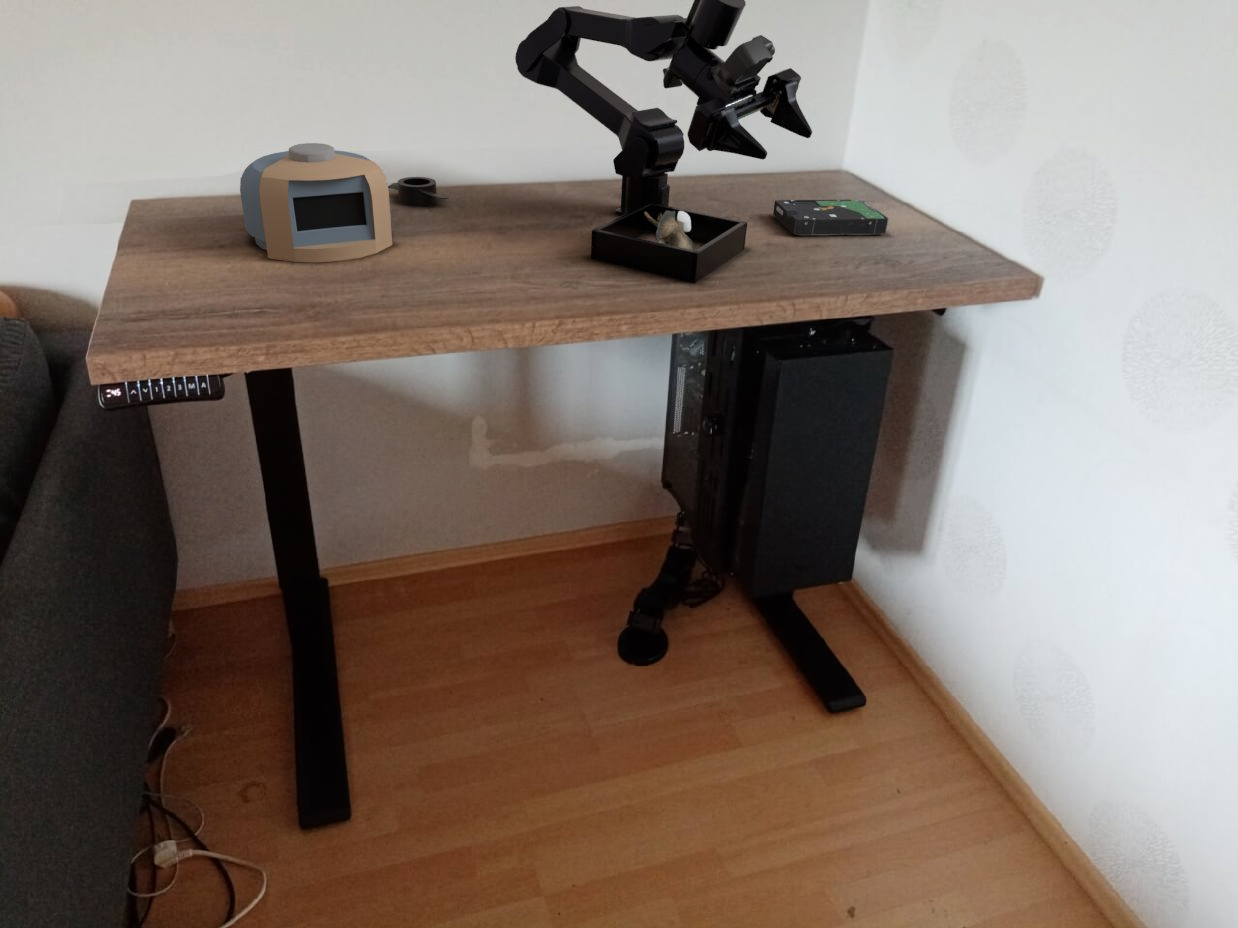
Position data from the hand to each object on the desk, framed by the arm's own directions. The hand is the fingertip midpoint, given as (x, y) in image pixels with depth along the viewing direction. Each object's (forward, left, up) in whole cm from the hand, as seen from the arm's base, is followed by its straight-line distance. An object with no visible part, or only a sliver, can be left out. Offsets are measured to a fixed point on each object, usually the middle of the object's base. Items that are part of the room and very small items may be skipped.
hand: (788, 145), depth 130 cm
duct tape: (-55, -10, -15) cm, 58 cm away
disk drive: (+2, +18, -15) cm, 24 cm away
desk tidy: (-12, -9, -15) cm, 21 cm away
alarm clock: (-54, -32, -15) cm, 65 cm away
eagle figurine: (-12, -9, -15) cm, 21 cm away
